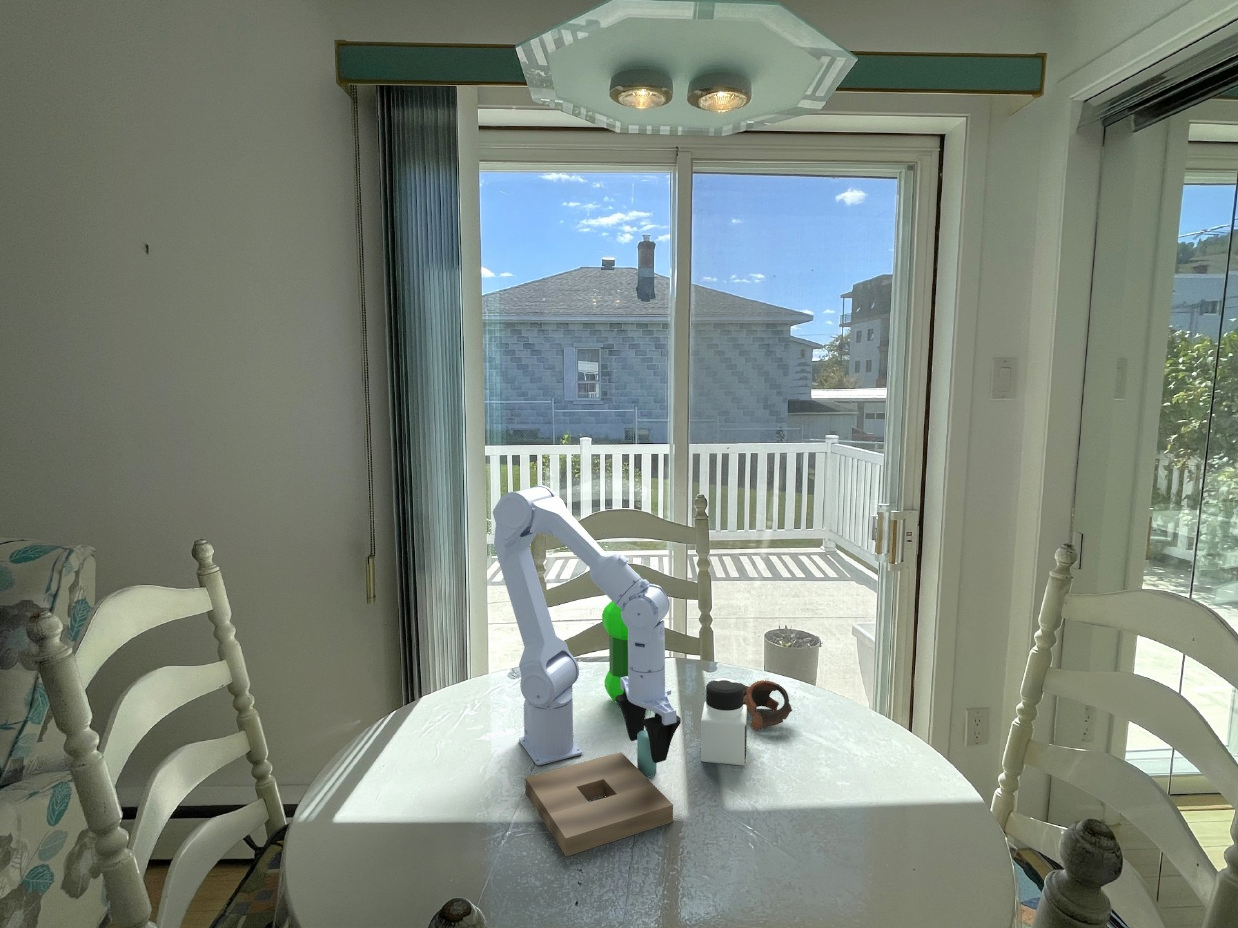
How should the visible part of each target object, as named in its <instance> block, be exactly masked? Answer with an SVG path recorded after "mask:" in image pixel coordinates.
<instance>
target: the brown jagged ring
mask: <svg viewBox="0 0 1238 928" xmlns="http://www.w3.org/2000/svg"><path fill="white" fill-rule="evenodd" d="M739 683H740V684H741V685H742V686H743V704H744V705H746V706H747V712H748V713H749V714H750V715H751V716H752V718H751V722H750V725H749V727H751V729H753V730H755V731H756V732H759V731H760V730H761V729H762V728H764V729H765V728H770V727H772V726H773V727H774V726H777V725H779V724H782V723H784V720H787V719H788V717H789V715H790V713H791V712H793V709H792V706H791V704H790V697H789V694H788V692H787V690H786V689H785V688H784V687H782V686H781V685H780V684H778V683H776V682H774V681H770V680H768V679H767V680H763V679H762V680H757V681H755V682H754V683H752V684H751V685H750V686H748V685H745V684H744V683H741V682H739ZM776 691H777V692H779V693H780V695H782V698H783V699H784V700H783V701H784V702H783V705H782V706H781V707H780V708H779V707H778V706H779V704H780V702H779V701H777V700H775V699H774V698H772V697H771V693H772V692H776ZM759 707H765V708H768V709H769V710H766V709H762V710H761V713H760V712H759V711H757V708H759ZM778 708H779V709H778ZM773 710H774V711H773Z"/></svg>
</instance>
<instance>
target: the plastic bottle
mask: <svg viewBox="0 0 1238 928" xmlns="http://www.w3.org/2000/svg"><path fill="white" fill-rule="evenodd" d="M636 573H637V572H636ZM637 574H638V575H639V576H640V577H641V578H642V575H641V574H640V573H637ZM621 611H622V610H621V609H620V608H619V607H618V606H617V605H616V604H615V603H614V602H613V601H612V600H611V601H610V602H609V603H607V605H606V606H605V607H604V608H603V612H602V614H601V623H602V627H603V629H604V630H605V631H606V633H607V634H608V647H609V648H608V655H609V656H608V657H609V658H608V660H609V662H608V663H609V666H608V667H609V668H608V669H609V670H608V671H607V674H606V675H605V678H604V688H605V690H606V691H605V692H606V693H607V694H608V696H609V697H610V698H611V699H612V701H613V702H615V703H616V704H617V705H618V703H617V701H616V696H618V695H621V694H623V692H624V691H623V690H622V689H621V684H620V678H621V677H626V676H628V628H627V626H626V625H625V624H624V622H623V620H622V617H621Z"/></svg>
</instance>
